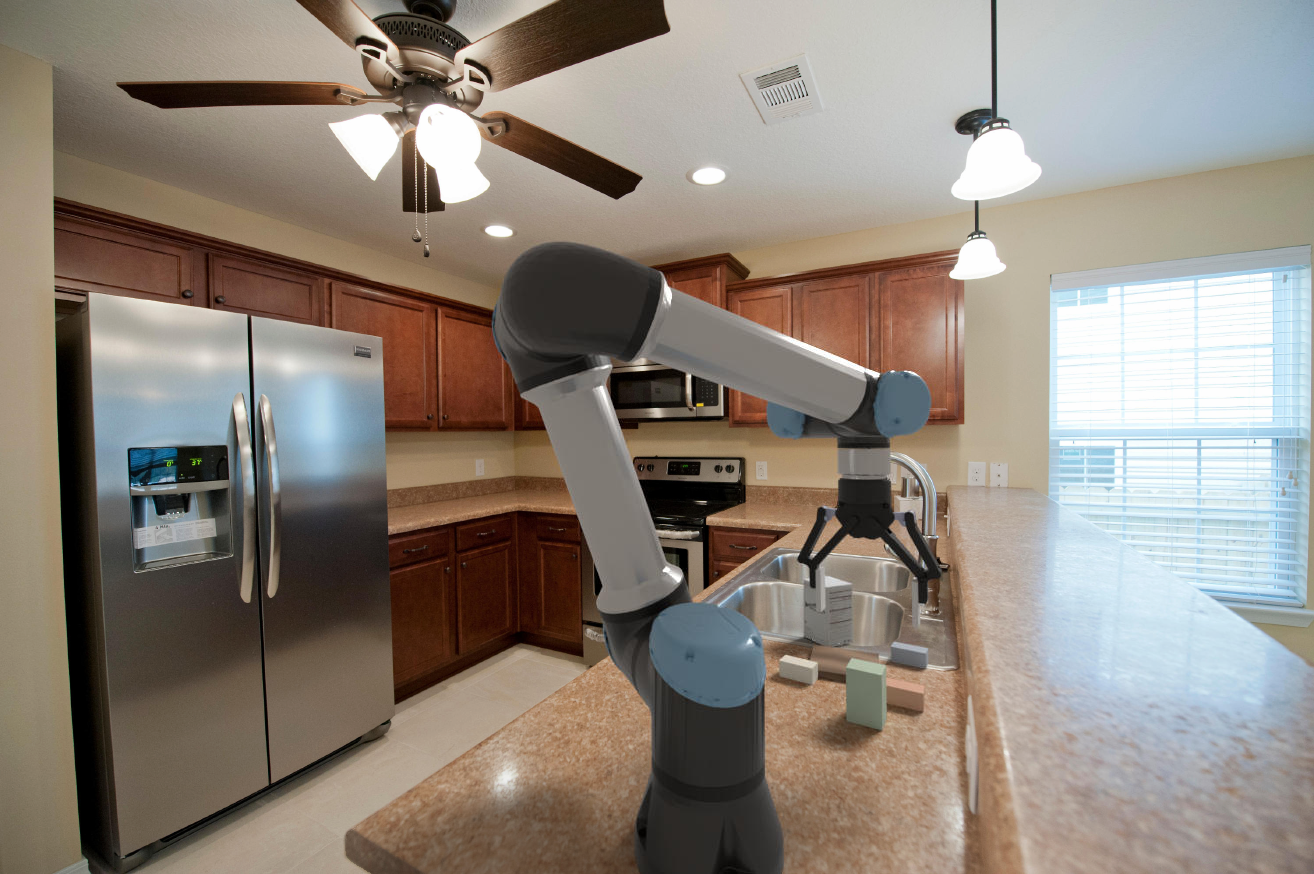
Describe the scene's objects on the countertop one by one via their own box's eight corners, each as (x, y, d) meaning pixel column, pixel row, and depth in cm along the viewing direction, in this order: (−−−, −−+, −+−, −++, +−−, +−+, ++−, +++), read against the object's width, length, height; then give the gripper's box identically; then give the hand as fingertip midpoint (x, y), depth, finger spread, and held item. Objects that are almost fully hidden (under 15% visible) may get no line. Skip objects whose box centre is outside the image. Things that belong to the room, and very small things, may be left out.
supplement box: (802, 637, 110) (801, 578, 111) (828, 631, 113) (828, 574, 114) (827, 649, 104) (826, 586, 104) (854, 643, 107) (853, 582, 107)
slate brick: (928, 664, 97) (928, 648, 97) (926, 669, 94) (926, 653, 95) (894, 656, 100) (893, 641, 100) (891, 662, 98) (890, 646, 98)
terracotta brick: (925, 704, 82) (924, 685, 82) (923, 713, 79) (923, 693, 79) (884, 695, 85) (884, 677, 85) (881, 703, 82) (881, 684, 82)
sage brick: (882, 730, 74) (881, 675, 74) (846, 720, 77) (845, 667, 77) (886, 718, 77) (886, 665, 78) (852, 709, 80) (851, 657, 80)
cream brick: (818, 679, 91) (817, 662, 91) (812, 685, 88) (812, 668, 88) (785, 671, 94) (785, 654, 94) (779, 677, 92) (779, 660, 92)
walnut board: (880, 686, 87) (880, 679, 87) (807, 675, 92) (807, 668, 92) (878, 659, 98) (878, 653, 98) (814, 650, 103) (814, 644, 103)
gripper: (960, 477, 74) (963, 623, 74) (791, 473, 88) (793, 597, 87) (957, 480, 68) (961, 641, 68) (776, 476, 81) (778, 610, 81)
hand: (866, 617), depth 77 cm, fingers open, 13 cm apart
